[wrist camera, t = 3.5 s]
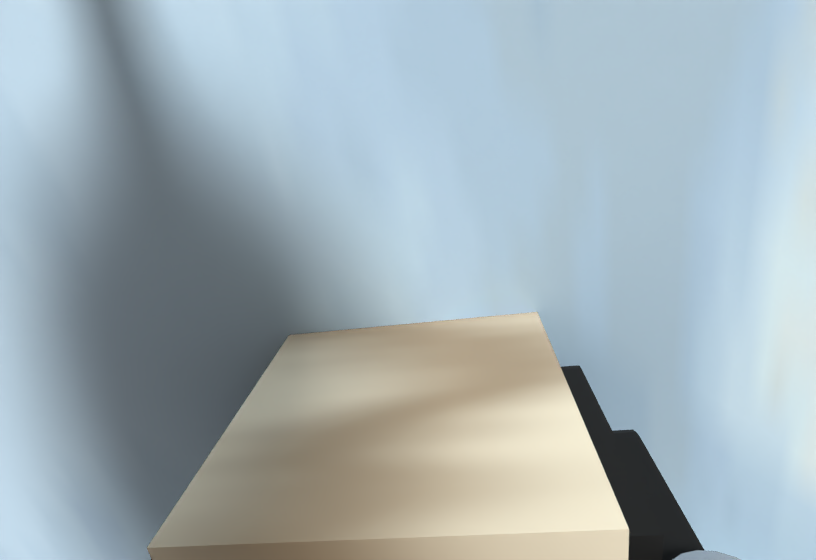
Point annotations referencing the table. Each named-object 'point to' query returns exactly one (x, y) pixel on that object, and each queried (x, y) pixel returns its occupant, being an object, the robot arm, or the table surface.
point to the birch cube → (404, 454)
